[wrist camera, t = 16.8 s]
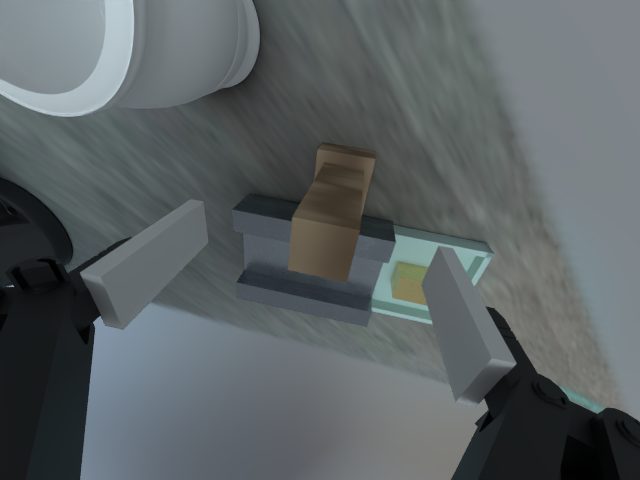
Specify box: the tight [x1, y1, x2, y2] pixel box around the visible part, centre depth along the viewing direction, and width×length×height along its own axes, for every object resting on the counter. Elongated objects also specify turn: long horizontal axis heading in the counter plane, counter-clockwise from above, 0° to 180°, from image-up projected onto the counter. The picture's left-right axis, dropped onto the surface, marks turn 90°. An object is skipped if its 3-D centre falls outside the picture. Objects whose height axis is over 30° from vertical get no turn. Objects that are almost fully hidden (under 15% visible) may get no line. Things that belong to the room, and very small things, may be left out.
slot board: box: [232, 194, 396, 327], centre depth 29 cm, size 16×12×4 cm
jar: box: [0, 0, 260, 117], centre depth 15 cm, size 11×10×15 cm
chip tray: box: [372, 225, 494, 324], centre depth 29 cm, size 10×11×2 cm
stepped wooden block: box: [288, 142, 376, 282], centre depth 20 cm, size 5×6×14 cm
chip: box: [391, 261, 426, 304], centre depth 29 cm, size 3×3×3 cm
